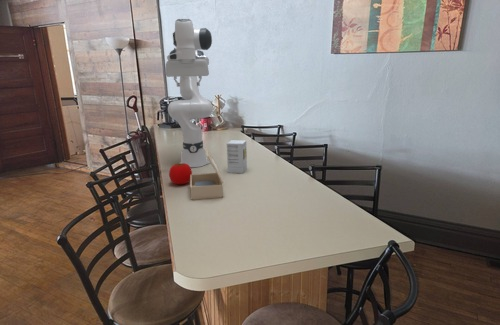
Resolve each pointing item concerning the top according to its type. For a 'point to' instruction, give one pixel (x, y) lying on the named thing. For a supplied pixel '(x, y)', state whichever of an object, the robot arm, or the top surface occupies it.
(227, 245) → the top surface
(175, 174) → the tomato
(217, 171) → the lid
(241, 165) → the supplement box
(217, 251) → the top surface
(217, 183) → the box
